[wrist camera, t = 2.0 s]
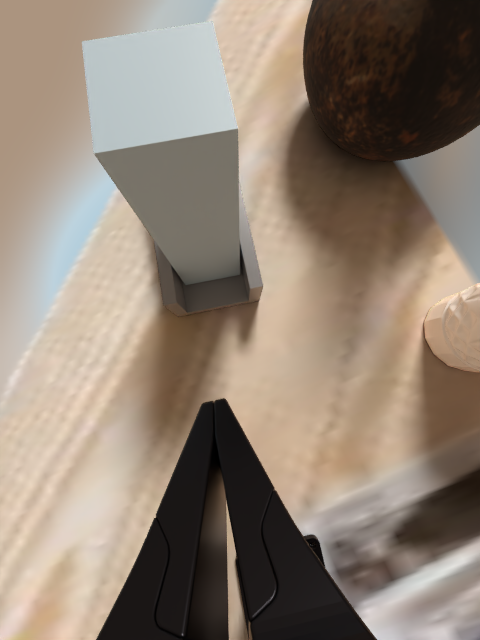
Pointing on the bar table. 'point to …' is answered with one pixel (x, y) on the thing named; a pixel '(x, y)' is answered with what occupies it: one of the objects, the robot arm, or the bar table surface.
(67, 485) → the bar table surface
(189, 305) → the chute
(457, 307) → the white cup
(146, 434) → the bar table surface
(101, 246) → the bar table surface
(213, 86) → the block
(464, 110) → the dark brown round-bodied bottle
